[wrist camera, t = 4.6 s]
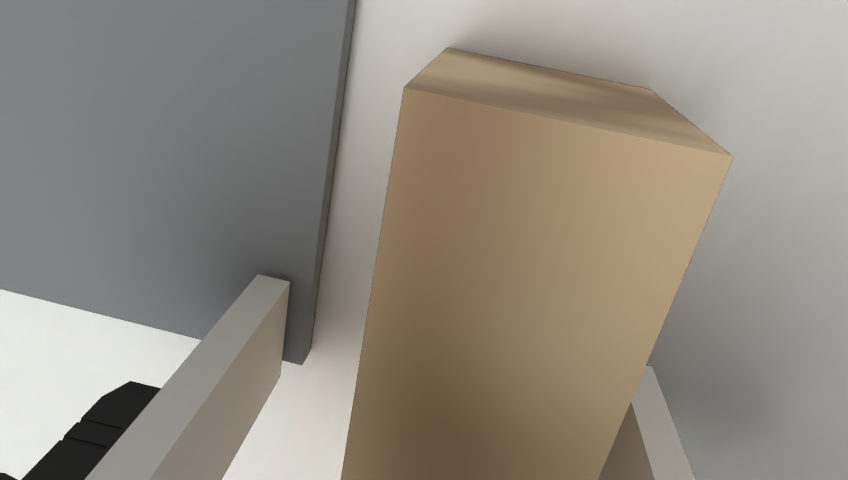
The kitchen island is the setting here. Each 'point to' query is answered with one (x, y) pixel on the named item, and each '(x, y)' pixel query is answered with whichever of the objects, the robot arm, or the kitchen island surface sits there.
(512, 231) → the tan bevelled pillar
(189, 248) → the mat
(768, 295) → the kitchen island surface
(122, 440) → the robot arm
